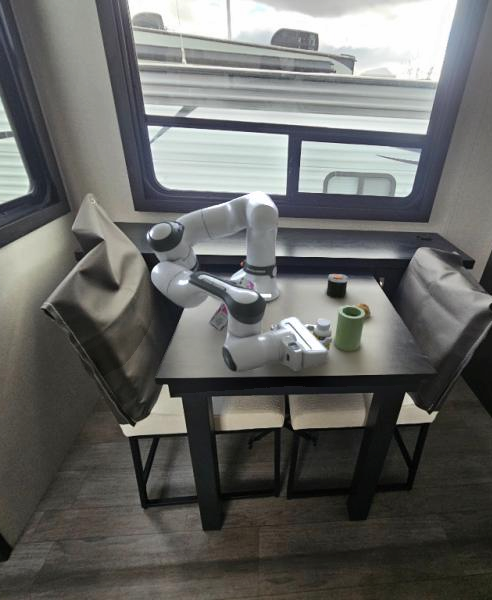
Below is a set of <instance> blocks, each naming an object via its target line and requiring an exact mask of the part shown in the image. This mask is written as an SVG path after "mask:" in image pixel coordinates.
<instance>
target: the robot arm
mask: <svg viewBox="0 0 492 600" xmlns="http://www.w3.org/2000/svg"><path fill="white" fill-rule="evenodd" d="M278 226H279V209H278V207H277V205H276V204H275V202H274V201H273V200H272V198H271V197H270V195H268V194H267V193H265V192H262V191H254V192H252V193H249V194H245V195H243V196H240V197H237V198H233V199H231V200H230V201H227V202H223V203H220V204H216V205H212V206H208V207H204V208H200V209H197V210H194V211H191V212H189V213H185V214H184V215H181V216H180V217H178V218H177V219H176V220H171V221H167V220H165V221H160V222H158V223H155V224H154V225H152V226H151V227H150V229H149V230H148V231H147V233H146V240H147V243H148V245H149V248H150V249H151V250H152V251H153V253H154V254H155V256H156V257H157V259H158V260H159V263H157V264H156V265H155V266H154V267H153V268H152V270H151V273H150V280H151V282H152V283H153V286H155V287H156V289H157V290H158V291H160V293H161V294H162V295H163V296H165V297H166V298H167V299H168V300H169V301H171V302H172V303H174V304H175V305H176V306H179V307H180V308H183V309H195V308H197V307H199V306H201V305H202V304H203V303H204V302H206V300H207V299H208V297H211V298H213V299H215V300H217V301H219V302H221V303H224V304H225V306H226V309H227V312H228V323H227V324H226V337H225V341H224V344H223V346H222V347H221V355H222V358H223V361H224V363H225V366H226V367H227V368H228V369H229V371H231V372H234V373H243V372H249V371H254V370H256V369H261V368H263V367H265V366H266V365H268V364H277V363H281V364H283V365H285V366H286V367H288V368H289V369H291V370H292V371H294V372H298V371H301V369H302V368H305V369H306V368H307V369H308V368H312V367H316V366H319V365H323V364H325V363H326V362H327V361H328V358H329V351H328V350H327V349H326V347H325V346H326V345H327V344H330V345H331V343H333V338H332V336H331V337H330V336H325V337H324V340H323V341H322V340H318V339H317V338H316V337H315V336H314V335H313V330H314V327H315V326H316V324H317V323H316V324H309V323H303V322H302V320H300V319H299V318H298V317H297V316H290V317H286V318H283V319H281V320H279V321H277V322H275V323H272V325H271V326H270V330H269V331H266V332H264V331H263V324H264V323H263V322H264V316H265V313H266V308H267V302H270V301H273V300H276V299H277V298H278V297H279V296H280V291H279V289H278V283H277V272H278V268H277V267H278V265H277V260H276V255H277V254H276V253H277V252H276V251H277V250H276V249H277V248H276V247H277V238H278V237H277V236H278ZM244 229H245V230H246V232H245V233H246V234H245V237H246V238H245V245H246V246H245V249H246V251H245V253H246V258H245V259H244V260H243V261H242V262H241V263H240V267H242V268H241V269H239V270H237V271H236V272H235V273H234V274H232V275H231V276H230V278H229V279H224V278H222V277H219V276H217V275H215V274H212V273H210V272H206V271H202V270H199V271H197V270H198V269H199V260H198V257H197V254H195V251H194V249H193V248H194V246H196V245H197V244H200V243H206V242H210V241H214V240H218V239H222V238H226V237H230V236H232V235H236V234H237V233H238V232H240V231H242V230H244ZM243 277H245V278H246V279H247V280H249V281H250V282H251V283H253V284H254V287H253V290H252V289H249V288H244V287H240V286H238V285H237V284H238V283H239V282H240V280H241V279H242V278H243Z"/></svg>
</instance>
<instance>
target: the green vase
mask: <svg viewBox="0 0 492 600" xmlns="http://www.w3.org/2000/svg"><path fill="white" fill-rule="evenodd" d="M365 319H366V317H365V311H364V310H363V309H361V308H360V307H357V306H355V305H351V304H346V305H342V306H340V307H338V313H337V320H336V328H335V337H334V345H335V346H336V347H337V348H338V349H340V350H342V351H345V352H346V351H347V352H353V351H356V350H358V349H359V348H360V345H361V341H362V335H363V329H364V324H365Z"/></svg>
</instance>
